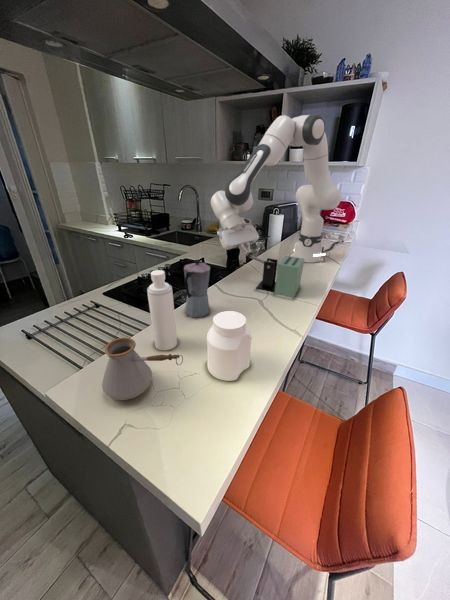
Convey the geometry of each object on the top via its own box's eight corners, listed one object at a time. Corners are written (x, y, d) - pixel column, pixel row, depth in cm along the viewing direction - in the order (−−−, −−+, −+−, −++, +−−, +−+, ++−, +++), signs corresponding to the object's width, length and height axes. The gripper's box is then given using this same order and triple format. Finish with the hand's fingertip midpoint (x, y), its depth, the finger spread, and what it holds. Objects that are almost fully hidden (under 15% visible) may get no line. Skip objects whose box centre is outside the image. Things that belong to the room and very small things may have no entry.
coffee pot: (93, 397, 60) (76, 347, 53) (126, 365, 70) (116, 319, 62) (172, 428, 54) (165, 376, 46) (197, 388, 63) (194, 340, 56)
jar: (227, 347, 77) (228, 304, 70) (254, 361, 72) (258, 316, 65) (201, 369, 69) (199, 322, 62) (230, 386, 64) (231, 337, 57)
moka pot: (216, 304, 100) (216, 255, 90) (202, 326, 87) (200, 271, 77) (193, 301, 102) (190, 252, 93) (176, 321, 89) (171, 267, 79)
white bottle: (182, 341, 79) (175, 265, 67) (166, 353, 74) (156, 273, 62) (166, 334, 82) (157, 260, 70) (150, 345, 77) (138, 267, 65)
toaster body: (274, 295, 107) (278, 264, 100) (281, 285, 116) (285, 255, 110) (293, 300, 104) (298, 267, 97) (299, 288, 113) (304, 258, 107)
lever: (245, 259, 110) (246, 254, 108) (249, 256, 114) (250, 251, 112) (271, 270, 106) (272, 265, 105) (274, 266, 110) (276, 261, 109)
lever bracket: (255, 290, 111) (258, 262, 105) (263, 282, 119) (265, 255, 113) (273, 294, 108) (277, 266, 102) (280, 285, 116) (283, 258, 110)
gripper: (219, 225, 103) (235, 254, 102) (252, 219, 116) (267, 245, 114) (211, 234, 108) (227, 262, 106) (244, 227, 121) (258, 252, 119)
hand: (248, 253), depth 110 cm, fingers closed
